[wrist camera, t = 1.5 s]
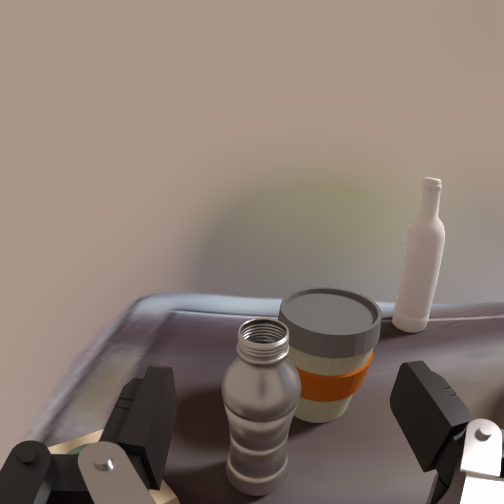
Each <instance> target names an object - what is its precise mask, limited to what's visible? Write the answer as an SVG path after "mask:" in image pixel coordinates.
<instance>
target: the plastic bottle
mask: <svg viewBox="0 0 504 504" xmlns="http://www.w3.org/2000/svg"><path fill="white" fill-rule="evenodd" d="M288 341H289V330H288V328H287V326H286V325H285V324H284V323H282V322H280V321H278V320H275V319H271V318H256V319H251V320H248V321H246V322H244V323H243V324H242V325H241V326H240V327H239V330H238V343H237V355H238V357H237V358H236V359H235V360H234V361H233V363H232V364H231V365H230V366H229V368H228V369H227V370H226V372H225V375H224V378H223V381H222V385H221V390H222V397H223V401H224V406H225V410H226V414H227V417H228V421H229V429H230V437H231V439H230V450H229V454H228V457H227V462H226V473H227V476H228V478H229V480H230V483H231V484H232V485H233V487H234V488H235V489H237V490H238V491H240V492H241V493H244V494H247V495H251V496H261V495H266V494H269V493H272V492H273V491H275V490H276V489H278V488H279V487H280V486H281V484H282V483H283V481H284V480H285V478H286V476H287V474H288V469H289V467H288V455H287V437H288V433H289V429H290V424H291V421H292V418H293V416H294V413H295V410H296V407H297V405H298V402H299V399H300V394H301V389H302V386H301V381H300V376H299V373H298V371H297V369H296V368H295V367H294V365H293V364H292V362H291V361H290V360H289V359H288V358H287V356H288V354H289V344H288Z"/></svg>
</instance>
